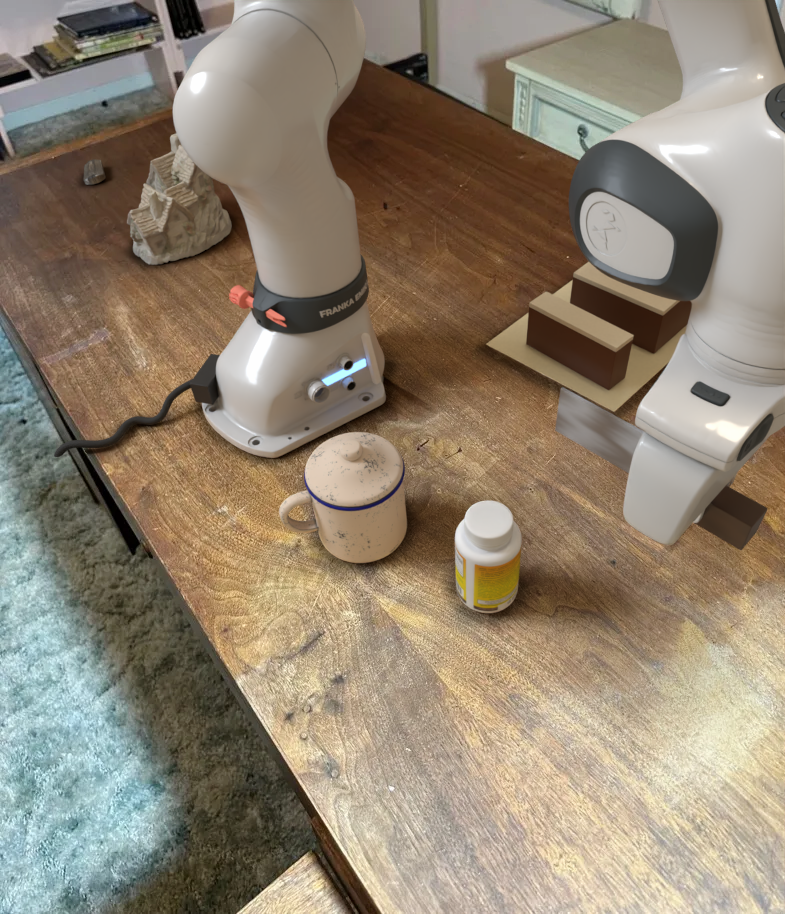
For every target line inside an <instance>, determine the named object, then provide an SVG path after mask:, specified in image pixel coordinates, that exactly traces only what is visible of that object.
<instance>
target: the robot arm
mask: <svg viewBox="0 0 785 914" xmlns="http://www.w3.org/2000/svg"><path fill="white" fill-rule="evenodd" d="M657 3H658V5H659V9H660V12H661V14H662V17H663V20H664V23H665V26H666V30H667V32H668V36H669V38H670V41H671V44H672V47H673V49H674V52H675V56H676V58H677V62H678V64H679V68H680V71H681V75H682V90H681V93H680V98H679V99H678V100H677V101H675V102H673V103H671V104H670V105H668V106H666V107H664V108H662V109H659V110H657V111H654V112H651V113H649V114H648V113H647V115H645V116H642V117H640V118H639V119H637V120H635V121H632V122H631V123H629V124H627V125H625V126H623V127H621V128H620V129H617V130H616V131H614V132H613V133H611V134H609V135H607V136H606V137H605V138H603V139H602V140H600V141H599V142H597V143H595V144H593V145H592V146H590V147H589V149H587V150H586V151H585V152H584V153H583V155H582V156H581V157H580V159H579V160H578V162H577V163H576V167H575V169H574V171H573V174H572V176H571V181H570V186H569V192H568V215H569V222H570V226H571V231H572V234H573V237H574V240H575V242H576V244H577V246H578V249H579V250H580V251H581V253H582V255H583V256H584V258H585V259H586V260H587V262H590V263H591V264H592V265H593V266H594V267H595V268H596V269H597V270H599V271H600V272H601V273H603V274H605V275H606V276H608V277H610V278H612V279H614V280H616V281H619V282H621V283H623V284H626V285H629V286H631V287H634V288H637V289H640V290H642V291H645V292H648V293H651V294H654V295H657V296H661V297H664V298H668V299H672V300H678V301H691V302H692V308H691V312H690V316H689V320H688V324H687V327H686V331H685V334H683V335H682V336H681V337H680V339H679V342H678V344H677V347H676V349H675V352H674V354H673V356H672V358H671V360H670V361H669V363H668V364H666V365H665V368H663V369H662V371H661V373H660V374H659V376H658V377H657V379H656V380H655V382H654V383H652V385H651V387H650V388H649V390H648V391H647V392H646V394H645V395H644V397H643V398H642V399H641V400H640V402H639V404H638V407H637V409H636V414H635V419H634V426H635V427H637V428H639V429H641V430H643V431H644V432H643V434H642V436H641V438H640V439H639V442H638V444H637V446H636V449H635V451H634V454H633V457H632V461H631V466H630V470H629V473H628V475H627V481H626V486H625V492H624V498H623V507H622V508H623V509H622V513H623V518H624V521H626V523H627V524H628V525H630V526H631V527H632V528H633V529H635V530H636V531H637V532H639V533H641V534H642V535H643V536H646V537H647V538H649V539H651V540H653V541H655V542H656V543H658V544H661V545H664V546H672V545H674V544H676V543H677V541H678V540H679V539H680V538H681V537H682V536H683V534H685V532H686V531H687V530H688V529H689V528H690V527H691V525H692V524H695V523H698V522H699V521H700V520H701V519H702V518H703V516H704V515H705V514H706V513H707V512H708V509H709V506H710V504H711V502H712V500H713V499H714V498H715V497H716V496H717V495H718V494H719V493H720V491H721V490H722V489H723V488H724V487H725V486H728V487H730V488H731V486H732V485H733V484H734V482H735V480H736V477H737V474H738V473H739V471H740V470H742V468H743V467H744V466H745V465H746V463H748V461H749V460H750V459H751V458H753V455H754V454H756V452H757V451H758V450H759V449H760V448H761V447H762V446H763V445H764V443H765V442H766V441H767V440H768V439H769V438H770V436H772V435H774V434H775V433H777V432H779V431H780V430H781V429H783V428H784V427H785V29H784V26H783V23H782V20H781V17H780V12H779V9H778V6H777V5H778V4H777V2H776V0H657ZM233 7H234V8H233V16H232V20H231V24H230V26H229V27H227V28H226V29H225V30H223V31H222V32H221V33H220V34H219V35H218V36H216V37H215V38H213V40H212V41H210V42H209V43H207V45H205V46H204V47H203V48H202V49H201V50H200V51H199V52H198V53H197V55H196V56H195V58H194V59H193V60H192V63H191V64H190V65H189V67H188V69H187V71H186V73H185V75H184V77H183V79H182V80H181V82H180V85H179V87H178V88H177V90H176V93H175V95H174V99H173V104H172V120H173V121H172V122H173V126H174V130H175V134H176V133H177V136H178V139H179V141H180V143H181V145H182V147H183V148H184V150H185V152H186V153H187V155H188V156H189V157H190V159H191V160H192V161H193V162H194V163H195V164H196V165H197V166H198V167H199V168H200V169H201V170H202V171H203V172H204V173H206V174H207V175H208V176H210V177H212V178H213V179H212V180H215V181H217V182H219V183H221V184H224V185H225V186H226V185H227V186H228V189H230V191H231V193H232V194H233V196H234V198H235V200H236V202H237V204H238V206H239V209H240V210H241V213H242V216H243V218H244V222H245V226H246V229H247V232H248V237H249V240H250V245H251V249H252V253H253V257H254V261H255V266H256V272H255V276H254V283H253V289H252V291H251V290H247V289H246V288H245V287H244V286H242V285H241V284H237V285H234V286H233V287H232V288H231V289H230V291H229V293H228V296H229V297H228V298H229V300H230V302H231V303H232V304H234V305H237V306H238V307H239V308H241V309H243V310H246V309H249V308H250V311H249V313H248V314H247V315H246V317H245V319H244V320H243V321H242V322H241V325H240V326H239V327H238V329H237V330H236V332H235V334H234V335H233V336H232V338H231V339H230V341H229V342H228V344H227V345H226V346H225V348H224V349H223V351H221V353H220V354H215V353H210V355H209V356H208V357H207V359H206V360H205V361H204V362H203V364H202V365H201V367H200V368H199V369H198V371H197V372H196V374H195V375H194V376H193V378H191V379H189V380H187V381H185V382H183V383H181V384H180V385H178V386H177V387H176V388H174V389H173V390H172V391H171V392H170V393H169V394H168V395H167V396H166V398H165V399H164V402H163V404H162V406H161V409H160V410H159V412H158V413H157V414H156V415H154V416H150V417H149V416H141V415H140V416H139V415H138V416H132V417H130V418H127V419H126V420H125V421H124V422H122V423H121V424H120V426H119V427H118V429H117V430H116V432H115V433H114V434H113V435H111V436H109V437H107V438H104V439H98V440H95V439H93V440H92V439H91V440H90V439H73V440H69V441H68V440H67V441H66V442H64V443H62V444H61V445H59V447H57V448H56V450H55V451H54V454H53V457H54V458H60V457H62V456H64V454H66V452H67V451H69V450H72V449H76V448H77V449H80V448H81V449H102V448H107V447H110V446H112V445H115V444H116V443H118V442H119V441H121V439H122V438H123V437H124V436H125V434H126V433H127V431H128V430H129V429H130V428H131V427H133V426H135V425H145V426H153V425H157V424H159V423H161V422H162V421H163V420H164V419H165V418H166V417H167V415H168V414H169V411H170V409H171V406H172V404H173V402H174V401H176V399H177V398H178V397H179V396H180V395H182V394H183V393H185V392H186V391H188V390H189V389H191V392H192V396H193V398H194V402H196V403H201V407H202V412H203V415H204V417H205V419H206V421H207V422H208V424H209V425H210V427H211V428H212V429H213V430H214V431H215V432H216V433H217V434H219V435H220V436H221V437H222V438H223V439H224V440H226V441H227V442H228V443H230V444H231V445H233V446H234V447H237V448H238V449H239V450H242V451H244V452H246V453H248V454H251V455H254V456H257V457H262V458H268V459H269V458H271V459H276V458H279V457H281V456H283V455H286V454H287V453H289V452H292V451H294V450H296V449H298V448H299V447H301V446H304V445H305V444H308V443H309V442H312V441H313V440H315V439H318V438H319V437H322V436H323V435H324V434H327V433H329V432H331V431H333V430H335V429H337V428H339V427H341V426H343V425H344V424H347V423H349V422H350V421H353V420H355V419H357V418H359V417H361V416H362V415H364V414H367V413H368V412H370V411H372V410H374V409H376V408H378V407H381V406H382V405H384V404H385V402H386V400H387V395H386V389H385V386H384V380H385V376H384V375H383V374H384V370H385V366H386V365H385V364H386V363H385V354H384V352H383V350H382V347H381V346H380V343H379V340H378V337H377V335H376V332H375V329H374V324H373V320H372V317H371V313H370V308H369V304H368V297H369V293H370V290H369V289H370V287H369V279H368V271H367V265H366V261H365V260H366V259H365V258H364V256H363V254H362V253H361V246H360V236H359V235H360V234H359V227H358V220H357V219H358V216H357V210H356V200H355V199H356V198H355V196H354V193H353V191H352V189H351V188H350V186H349V185H348V184H347V183H346V182H345V181H344V180H343V179H342V178H340V177H339V176H337V173H336V171H335V168H334V166H333V163H332V161H331V160H332V159H331V158H330V157H331V156H330V153H329V149H328V131H329V126H330V122H331V119H332V117H333V116H334V115H335V114H336V112H337V111H338V110H339V109H340V107H341V106H342V105H343V103H344V102H345V101H346V100H347V99H348V97H349V96H350V94H351V93H352V92H353V90H354V88H355V87H356V84H357V81H358V79H359V76H360V73H361V70H362V66H363V62H364V59H365V54H366V49H367V34H366V33H367V32H366V27H365V23H364V20H363V18H362V16H361V13H360V12H359V10H358V8H357V6H356V5H355V2H354V0H233Z"/></svg>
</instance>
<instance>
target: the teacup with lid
mask: <svg viewBox="0 0 785 914" xmlns="http://www.w3.org/2000/svg"><path fill="white" fill-rule="evenodd" d="M405 474H406V466H405V461H404V457H403V455H402V454H401V452H400V451H399V450H398V447H396V445H394V444H393V443H392V442H391V441H390V440H388V439H387V438H385V437H383V436H381V435H378V434H375V433H370V432H366V431H365V432H364V431H353V432H345V433H341V434H338V435H335V436H333V437H330V438H328V439H326V440H325V441H323V442H321V444H319V445H318V446H316V448H315V449H314V451H313V452H311V454H310V456H309V457H308V459H307V461H306V464H305V467H304V473H303V480H304V485H305V488H306V490H302V491H299V492H296V493H293V494H290V495H289V496H287V497H286V498H285V499H284V500H283V501H282V502H281V503H280V506H279V509H278V514H279V518H280V521H281V523H282V524H283V526H284V527H285V528H286V529H288V530H289V531H291V532H293V533H299V534H308V533H313V532H316V531H318V535H319V539H320V542H321V543H322V545H323V547H324V548H325V549H326V550H327V552H328V553H330V554H331V555H332V556H334V557H335V558H337V559H339V560H341V561H345V562H348V563H354V564H367V563H372V562H376V561H379V560H381V559H383V558H386V557H387V556H389V555H391V554H392V553H393V552H394V551H396V549H398V547H399V546H400V545H401V543H402V542H403V541H404V539H405V537H406V534H407V530H408V529H407V528H408V519H407V518H408V517H407V508H406V507H407V506H406V496H405V483H404V478H405ZM309 503H311V504H312V509H313V512H314V518H311V519H307V520H297V519H294V518H293V517H290V516H289V514H290V513H291V511H292V510H294V509H295V508H297V507H299V506H302V505H305V504H309Z"/></svg>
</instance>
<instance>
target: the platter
mask: <svg viewBox="0 0 785 914" xmlns="http://www.w3.org/2000/svg"><path fill="white" fill-rule="evenodd" d="M572 281H573V279H572V280H570V281H569V282H567V283H566V284H565V285H563V286H562V287H561V288H559V289H558V290H556V291H555V292H554V293H552V294H553V295H555V296H557V297H559V298H561V299H563V300H565V301H567V302H569V303H570V297H571V289H572ZM528 313H529V311H528V312H527V313H526V314H524V315H523V316H521V317H520V318H519V319H518V320H516V321H515V322H513V323H512V324H511V325H509V326H508V327H506V328H505V329H504V330H502V331H501V332H500V333H499V334H497V335H496V336H495V337H493V338H492V339H491V340H489V341H488V342H487V343H485V345H486V346H487V347H490V348H492V349H493V350H495V351H497V352H499V353H501V354H503V355H505V356H506V357H509V358H510V359H512V360H514V361H517V362H518V363H520V364H521V365H524V366H526V367H527V368H529V369H532V370H533V371H535V372H537V373H539V374H541V375H543V376H545V377H547V378H549V379H550V380H553V381H555V382H557V383H558V384H560V385H561V386H564V387H565V388H568V389H570V391H572V392H573V391H574V393H577V394H578V395H580V396H583V397H585V398H586V399H589V400H590V401H591V402H592V401H593V402H595V404H598V405H600V406H602V407H604V408H606V409H607V410H609V411H612V412H613V413H615V412H616V411H618V410H619V408H621V406H623V405H624V404H625V403H626V402H627V401H628V400H630V398H632V397H633V396H634V395H635V394H636V393H637V392H638V391H639V390H640V389H642V388H643V387H644V386H645V385H646V384H647V383H648V382H649V381H650V380H651V379H653V378H654V377H655V375H657V374H658V373H659V372H660V371H661V370H663V369H664V367H666V366H667V365H668V363H669V361H670V360H671V358H672V356H673V354H674V352H675V349H676V347H677V344H678V342H679V339H680V337H681V336H682V335H683V334H685V331H686V327H687V325H686V326H685V327H684V328H683V329H682V330H680V331H679V332H678V333H677V334H676V335H675V336H674V337H672V338H671V339H670V340H669V341H668V342H667V343H666V344H665V345H663V346H662V347H661V348H660V349H659V350H658V351H657V352H656V353H654V354H653V353H651V352H649V351H647V350H644V349H642V348H640V347H638V346H636V345H634V344H632V346H631V351H630V356H629V361H628V366H627V371H626V376H625V378H624V379H623V380H621V381H620V382H619V383H618V384H616V385H615V386H614V387H613V388H611V389H610V390H607V389H605V388H604V387H602V386H600V385H598V384H596V383H595V382H593V381H591V380H589V379H587V378H586V377H584V376H582V375H580V374H579V373H577V372H575V371H573V370H571V369H570V368H568V367H566V366H564V365H562V364H561V363H559V362H557V361H555V360H554V359H552V358H550V357H548V356H546V355H545V354H543V353H541V352H539V351H537V350H536V349H534V348H532V347H530V346H529V345H527V344H526V339H527V326H528Z"/></svg>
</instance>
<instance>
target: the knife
mask: <svg viewBox="0 0 785 914" xmlns="http://www.w3.org/2000/svg"><path fill="white" fill-rule="evenodd" d="M559 390H560V391H559V398H558V406H557V413H556V418H555V419H556V420H555V428H554V431H555V432H557V433H558V434H559V435H562V436H564V437H565V438H567V439H569V440H570V441H572V442H574V443H576V444H577V445H580V446H581V447H583V448H584V449H586V450H587V451H589V452H591V453H593V454H595V455H596V456H598V457H600V458H601V459H603V460H605V461H606V462H608V463H610V464H611V465H613V466H615V467H617V468H619V469H621V470H622V471H624V472H626V473H627V474H629V470H630V466H631V461H632V457H633V454H634V451H635V449H636V446H637V444H638V442H639V439H640V438H641V436H642V434H643V432H644V431H643V430H642V429H640V428H639V427H637V426H636V425H635V424H634V425H633V424H632V423H630V422H628V421H626V420H624V419H622V418H620V417H619V416H617V415H615V414H614V413H611V412H610V411H608V410H606V409H604V408H602V407H600V406H599V405H596V403H593V402H592V401H590V400H588V399H587V398H584V397H582V396H581V395H579V394H576V392H573V391H572V390H569V389H567V388H566V387H565V386H564V387H563V386H562V387H561V388H560V389H559ZM767 511H768V507H766V506H765V505H763V504H761V503H759V502H757V501H756V500H754V499H753V498H751V497H748V496H747V495H744V494H743V493H741V492H740V491H737V490H736V489H734V488H732V487H731V486H730V487H728V486H725V487H724V488H723V489H722V490H721V491H720V493H719V494H718V495H717V496H716V497H715V498H714V499H713V500H712V502H711V504H710V506H709V509H708V512H707V513H706V514H705V515H704V516H703V518H702V519H701V520H700V521H699V522H698V523H694V524H695V525H696V526H698V527H700V528H702V529H703V530H705V531H706V532H708V533H710V534H712V535H713V536H715V537H717V538H719V539H720V540H721V541H723V542H725V543H727V544H729V545H730V546H732V547H734V548H735V549H737V550H738V551H742V550H744V548H745V547H746V546H747V545H748V543H749V542H750V541H751V540H752V538H753V537H754V536H755V535H756V533H757V532H758V530H759V528H760V526H761V523H762V521H763V520H764V518H765V515H766V513H767Z"/></svg>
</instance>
